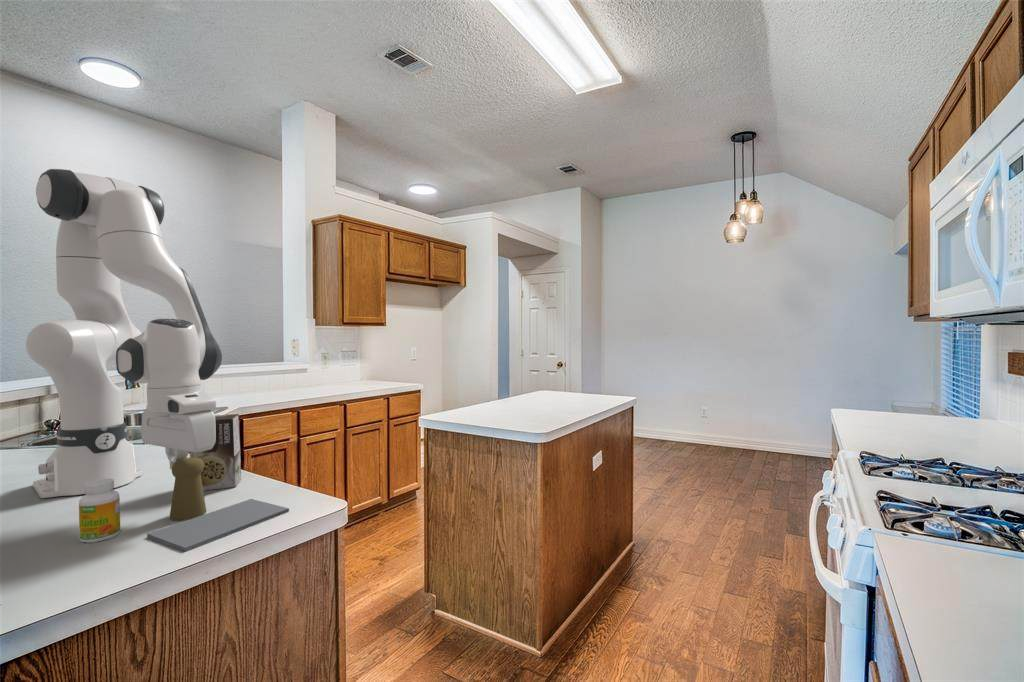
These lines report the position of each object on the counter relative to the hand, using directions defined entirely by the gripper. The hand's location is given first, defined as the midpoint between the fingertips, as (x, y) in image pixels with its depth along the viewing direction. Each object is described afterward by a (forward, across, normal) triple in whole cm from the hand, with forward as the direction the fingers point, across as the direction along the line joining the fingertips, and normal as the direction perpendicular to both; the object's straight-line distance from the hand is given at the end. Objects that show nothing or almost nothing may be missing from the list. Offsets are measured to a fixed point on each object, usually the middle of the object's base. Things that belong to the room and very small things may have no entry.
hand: (177, 469), depth 94 cm
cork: (+9, +3, 0) cm, 9 cm away
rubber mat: (+9, +14, 0) cm, 16 cm away
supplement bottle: (+9, 0, -13) cm, 15 cm away
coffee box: (+9, -10, +13) cm, 18 cm away
